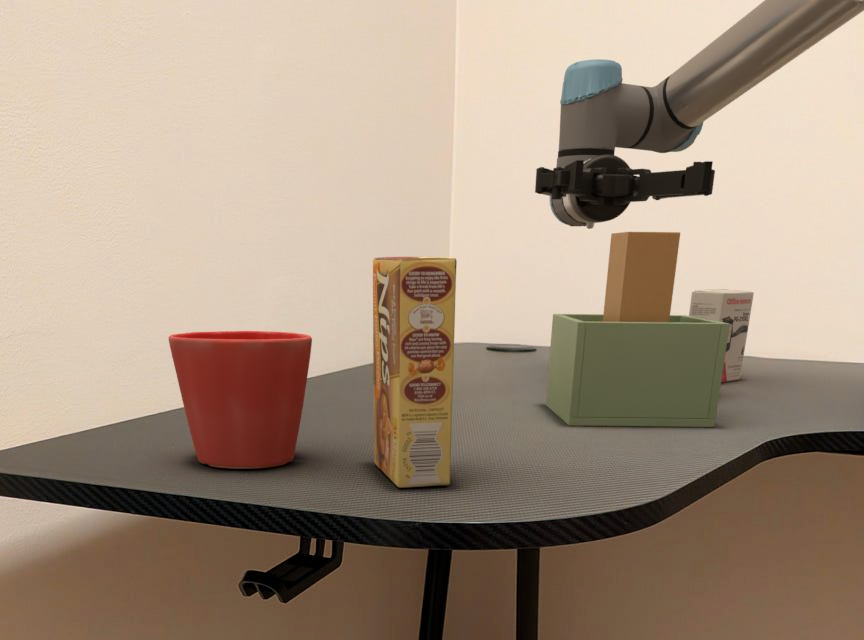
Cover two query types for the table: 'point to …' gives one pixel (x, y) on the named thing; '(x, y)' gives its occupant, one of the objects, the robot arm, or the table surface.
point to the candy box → (413, 368)
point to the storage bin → (636, 371)
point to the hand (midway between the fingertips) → (643, 175)
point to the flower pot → (242, 394)
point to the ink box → (728, 310)
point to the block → (641, 276)
